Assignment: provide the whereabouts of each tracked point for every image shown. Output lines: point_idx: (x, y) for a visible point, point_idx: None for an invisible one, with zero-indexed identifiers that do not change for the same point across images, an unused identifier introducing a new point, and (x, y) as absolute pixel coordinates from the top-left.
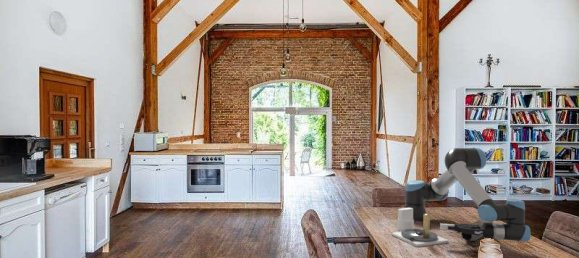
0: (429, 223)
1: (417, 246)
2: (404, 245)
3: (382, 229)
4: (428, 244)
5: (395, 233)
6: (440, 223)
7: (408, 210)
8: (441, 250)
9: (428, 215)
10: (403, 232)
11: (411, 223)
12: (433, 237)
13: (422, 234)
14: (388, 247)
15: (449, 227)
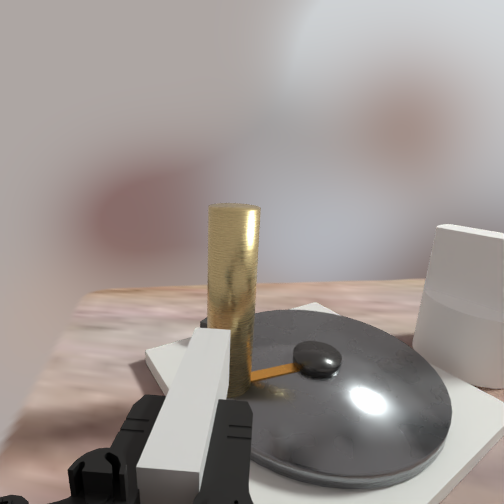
0: (220, 285)
1: (147, 364)
2: (168, 329)
3: (381, 299)
4: None
5: (313, 309)
6: (230, 331)
7: (497, 246)
8: (35, 485)
9: (210, 210)
10: (305, 314)
11: (456, 326)
12: (257, 427)
13: (306, 373)
14: (142, 295)
15: (132, 414)
